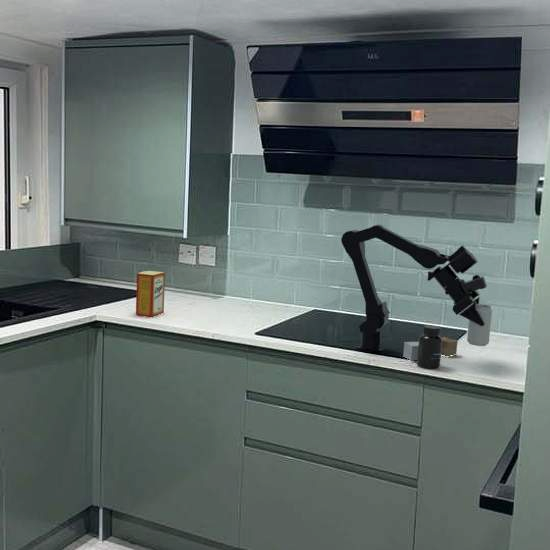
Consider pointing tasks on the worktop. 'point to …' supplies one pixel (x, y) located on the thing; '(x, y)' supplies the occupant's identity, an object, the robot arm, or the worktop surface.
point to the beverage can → (480, 327)
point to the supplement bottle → (429, 348)
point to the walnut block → (448, 346)
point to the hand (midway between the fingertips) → (484, 323)
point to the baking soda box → (150, 293)
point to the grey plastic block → (410, 350)
